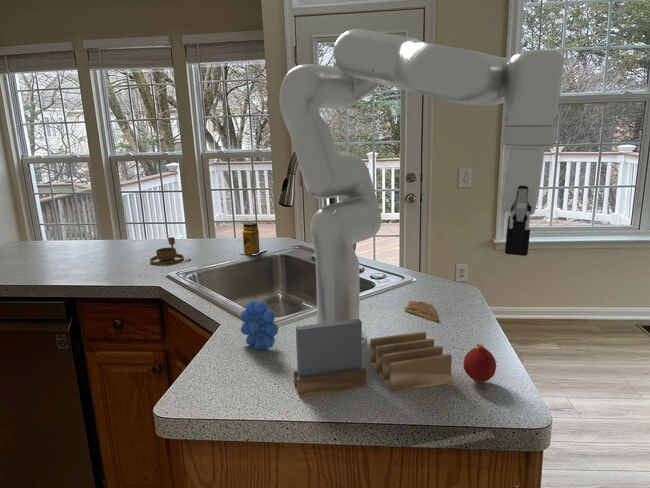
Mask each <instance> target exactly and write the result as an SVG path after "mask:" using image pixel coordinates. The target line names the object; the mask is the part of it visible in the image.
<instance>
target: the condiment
mask: <svg viewBox="0 0 650 488" xmlns="http://www.w3.org/2000/svg"><path fill="white" fill-rule="evenodd" d="M242 225H243V227H242V228H243V230H242V242H243V253H244V254H247V255H246V256H249V255H252V254H257V253H259V251H260V250H261V249H260V234H259V228H258V224H257V222H256V221H255V222H254V221H252V222H251V221H250V222H249V221H248V222H244V223H242Z"/></svg>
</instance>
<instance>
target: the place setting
mask: <svg viewBox="0 0 650 488" xmlns="http://www.w3.org/2000/svg"><path fill="white" fill-rule="evenodd" d="M167 240H168V241H167V242H168V244H169V245H170V247H163V248H159V249H156V250H155V252H156V253H155V254H156V255H155V256H152V257H151V258H150V259H149V262H150V263H151V264H152V265H154V266H170V265H175V264H178V263H180V264H181V265H182V264H185V263H188V262H191V260H192V259H191V258H188V259H185V257H184V255H183V254H181V253H180V254H179V253H177V248H175V247H174V245H175V243H176V239H175V237H173V236H172V237H168V238H167ZM176 258H179V259H177V260H176ZM184 259H185V260H184ZM155 260H159V261H155ZM183 260H184V262H183ZM181 262H182V263H181Z"/></svg>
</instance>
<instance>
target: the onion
mask: <svg viewBox="0 0 650 488" xmlns="http://www.w3.org/2000/svg"><path fill="white" fill-rule="evenodd" d="M462 364H463V370H464V372H465V373H466V375H467V376H468V377H469V378H470V379H471V380H473V382H475V383H476V384H482V383H485V382H488V381H489V380H491V379H492V378H493V377H494V376H495V374H496V371H497V362H496V359H495V356H494V355H493V354H492V353H491V351H489V350H488V349H487V348H486V347H484V346H483V344H481V343H477V344H476V347H474V348H472V349H470V350H469V351H468V352H467V353H466V354H465V356H464V359H463V363H462Z"/></svg>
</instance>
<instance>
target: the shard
mask: <svg viewBox="0 0 650 488" xmlns="http://www.w3.org/2000/svg"><path fill="white" fill-rule="evenodd" d="M404 311H405V312H406V313H409V314H410V313H411V314H414V315H417V316H419V317H421V318H424V319H427V320H430V321H432V322H438V320H439V318H438V316H437V313H436V310H435V307H434V306H433V303H431V302H428V301H427V302H426V301H418V300H416V301H413V300H411V301H406V307H405V308H404Z"/></svg>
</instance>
